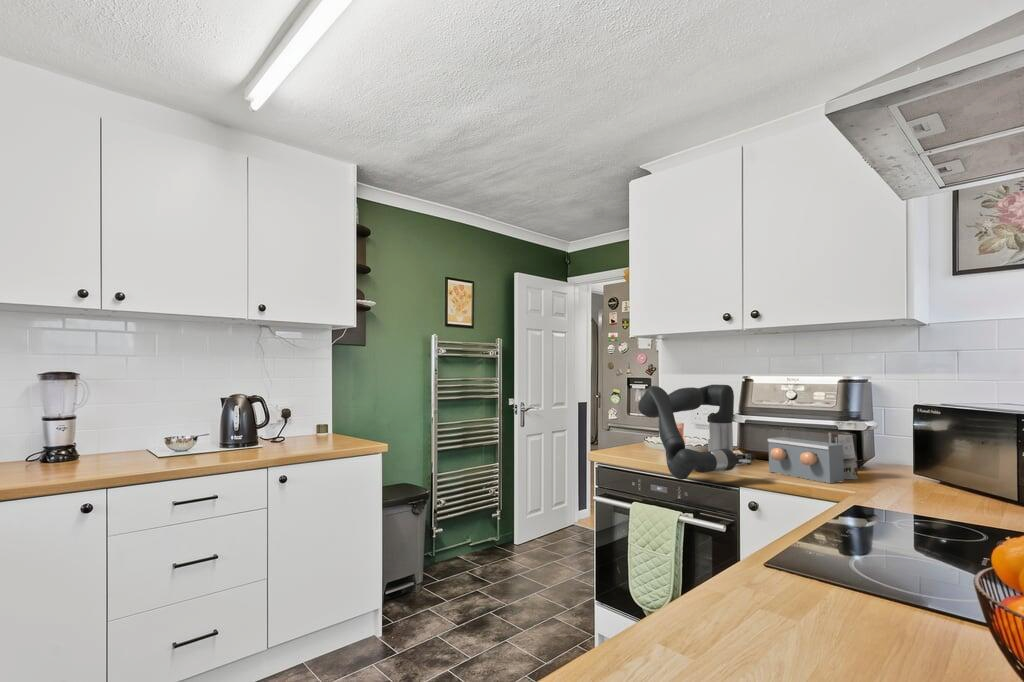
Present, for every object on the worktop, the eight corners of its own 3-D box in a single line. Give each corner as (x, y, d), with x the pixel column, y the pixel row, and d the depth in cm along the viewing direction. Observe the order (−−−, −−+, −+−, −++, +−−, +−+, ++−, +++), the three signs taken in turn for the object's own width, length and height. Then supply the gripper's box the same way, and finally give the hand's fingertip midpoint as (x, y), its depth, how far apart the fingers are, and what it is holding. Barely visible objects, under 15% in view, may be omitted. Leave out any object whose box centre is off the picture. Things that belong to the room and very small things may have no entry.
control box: (768, 472, 209) (767, 438, 209) (783, 470, 212) (782, 437, 213) (829, 483, 187) (828, 446, 188) (844, 481, 191) (842, 444, 192)
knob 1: (770, 459, 204) (770, 447, 204) (791, 456, 209) (791, 445, 210) (781, 461, 200) (780, 449, 200) (802, 458, 206) (801, 446, 206)
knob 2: (800, 464, 193) (799, 451, 194) (821, 461, 199) (820, 449, 199) (811, 466, 189) (811, 453, 190) (833, 463, 195) (832, 451, 195)
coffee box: (858, 479, 194) (857, 434, 195) (839, 479, 195) (837, 434, 196) (848, 474, 203) (846, 431, 204) (829, 474, 204) (828, 431, 205)
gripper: (733, 452, 183) (768, 448, 191) (703, 447, 195) (737, 444, 202) (734, 474, 182) (769, 470, 190) (704, 468, 194) (738, 464, 202)
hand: (752, 456), depth 196 cm, fingers closed
